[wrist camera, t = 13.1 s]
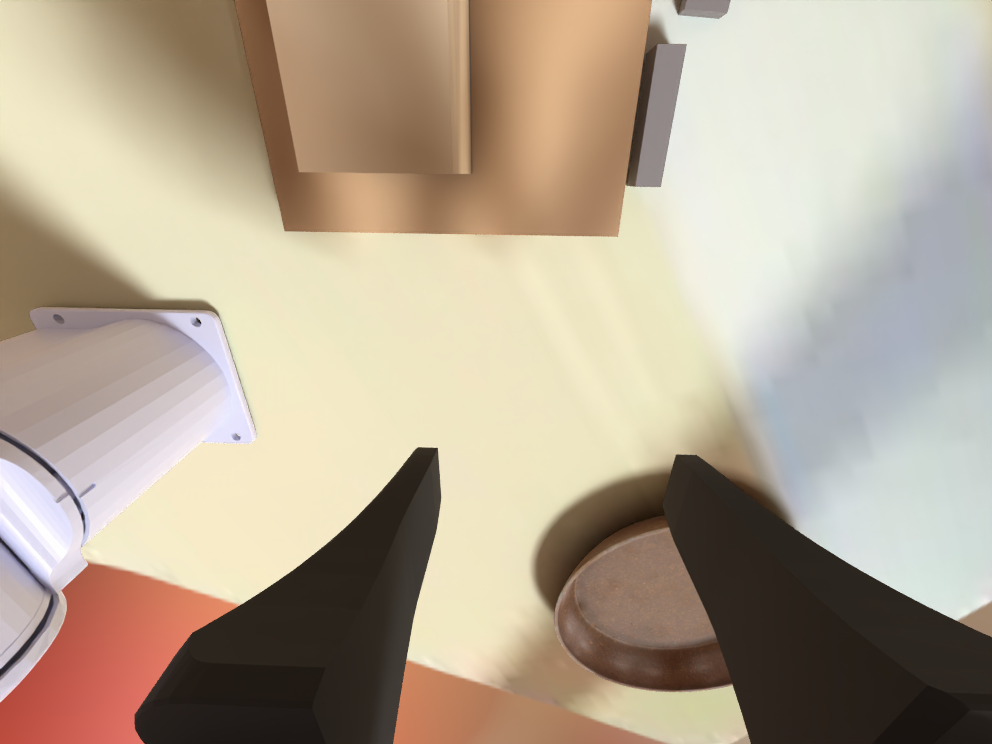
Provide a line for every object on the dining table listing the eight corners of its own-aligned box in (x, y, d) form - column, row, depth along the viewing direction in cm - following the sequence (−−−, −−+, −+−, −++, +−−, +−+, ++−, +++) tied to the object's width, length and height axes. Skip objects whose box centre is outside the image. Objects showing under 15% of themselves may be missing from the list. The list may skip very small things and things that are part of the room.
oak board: (301, 226, 18) (284, 231, 17) (201, -274, 12) (161, -332, 10) (609, 231, 18) (618, 236, 16) (678, -280, 11) (701, -340, 10)
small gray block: (635, 186, 16) (660, 186, 16) (657, 44, 14) (686, 43, 14) (625, 185, 17) (649, 186, 17) (644, 55, 15) (671, 55, 15)
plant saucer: (525, 632, 32) (526, 675, 29) (594, 465, 24) (604, 502, 21) (729, 665, 33) (749, 709, 30) (859, 515, 25) (901, 556, 22)
